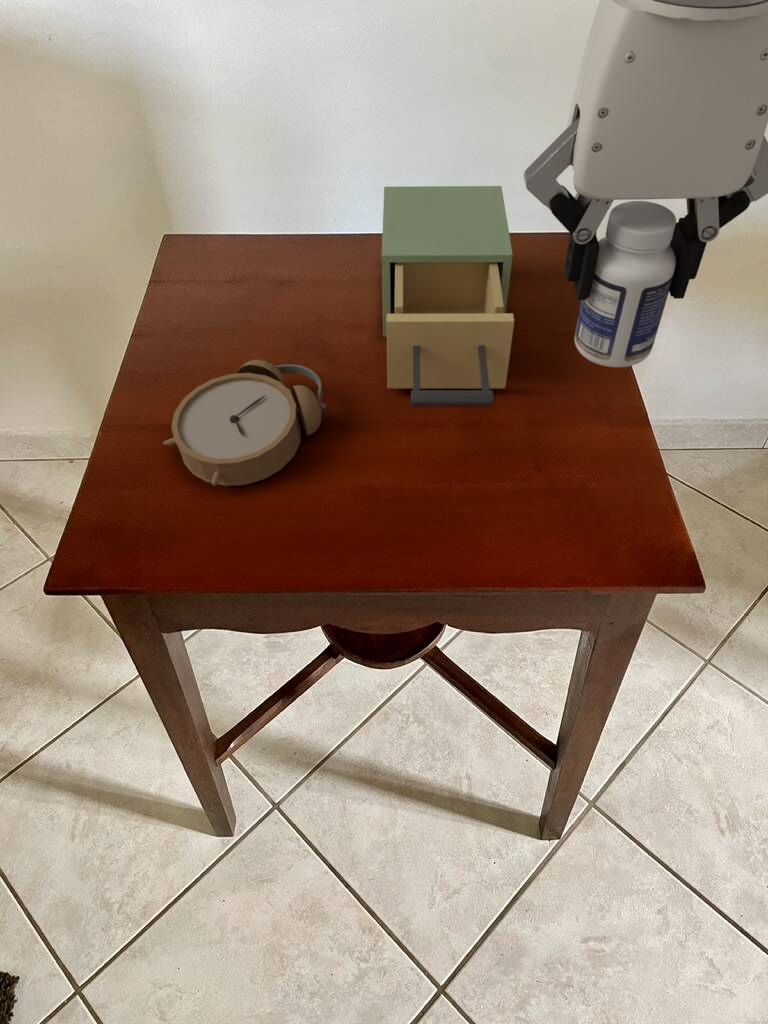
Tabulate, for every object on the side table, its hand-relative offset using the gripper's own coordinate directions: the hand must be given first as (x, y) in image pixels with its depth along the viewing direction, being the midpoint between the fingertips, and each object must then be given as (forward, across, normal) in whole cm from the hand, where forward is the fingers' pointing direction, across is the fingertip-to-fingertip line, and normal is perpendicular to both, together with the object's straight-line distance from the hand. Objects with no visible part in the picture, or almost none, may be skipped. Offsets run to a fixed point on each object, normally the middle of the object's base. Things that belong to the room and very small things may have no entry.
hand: (626, 285), depth 51 cm
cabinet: (+21, +10, -29) cm, 38 cm away
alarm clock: (+21, +28, -8) cm, 36 cm away
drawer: (+20, +10, -16) cm, 27 cm away
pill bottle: (+5, 0, 0) cm, 5 cm away
